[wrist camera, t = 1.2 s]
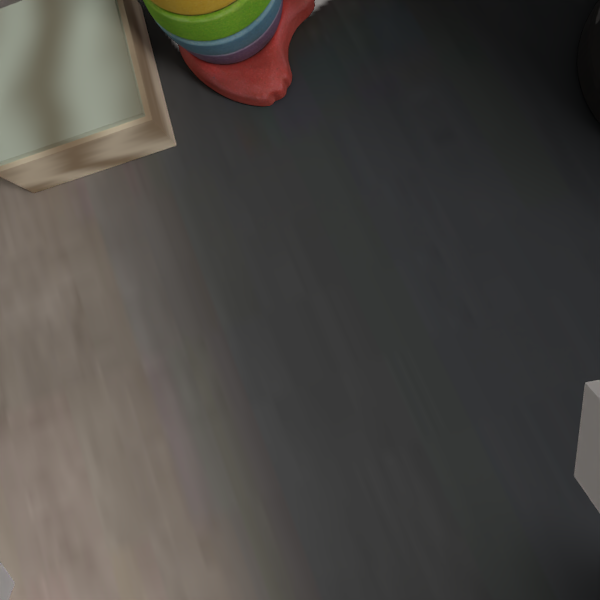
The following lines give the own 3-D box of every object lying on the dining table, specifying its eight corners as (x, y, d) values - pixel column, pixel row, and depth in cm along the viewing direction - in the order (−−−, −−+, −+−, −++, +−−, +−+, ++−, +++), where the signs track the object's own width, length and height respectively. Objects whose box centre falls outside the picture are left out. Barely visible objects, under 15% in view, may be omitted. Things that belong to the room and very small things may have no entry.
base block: (141, 6, 43) (110, -39, 38) (176, 145, 42) (149, 116, 37) (5, 56, 45) (-42, 19, 40) (33, 193, 43) (-11, 171, 38)
